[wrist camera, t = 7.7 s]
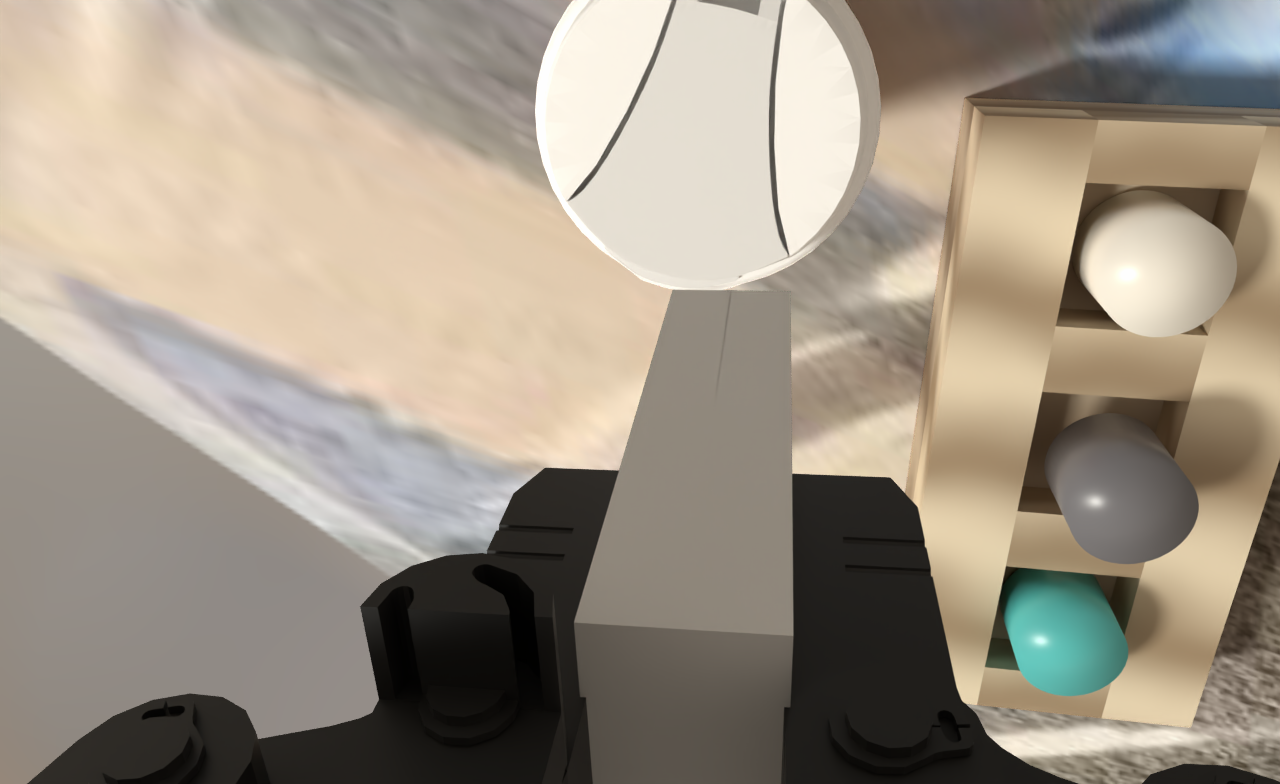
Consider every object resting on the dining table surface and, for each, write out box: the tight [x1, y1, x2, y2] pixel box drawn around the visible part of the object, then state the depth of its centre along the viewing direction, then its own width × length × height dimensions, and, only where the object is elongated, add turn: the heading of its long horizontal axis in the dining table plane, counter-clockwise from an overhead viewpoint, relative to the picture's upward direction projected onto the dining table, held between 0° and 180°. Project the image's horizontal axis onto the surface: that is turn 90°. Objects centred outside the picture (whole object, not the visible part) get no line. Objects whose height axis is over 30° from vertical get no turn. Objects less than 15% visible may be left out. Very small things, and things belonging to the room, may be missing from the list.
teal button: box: [999, 568, 1128, 696], centre depth 39 cm, size 4×4×4 cm
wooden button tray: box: [905, 98, 1280, 728], centre depth 38 cm, size 24×12×4 cm, turn 179°
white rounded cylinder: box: [1072, 190, 1237, 337], centre depth 33 cm, size 4×4×4 cm
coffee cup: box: [535, 0, 881, 290], centre depth 29 cm, size 8×8×15 cm
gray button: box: [1044, 413, 1199, 564], centre depth 34 cm, size 4×4×4 cm
